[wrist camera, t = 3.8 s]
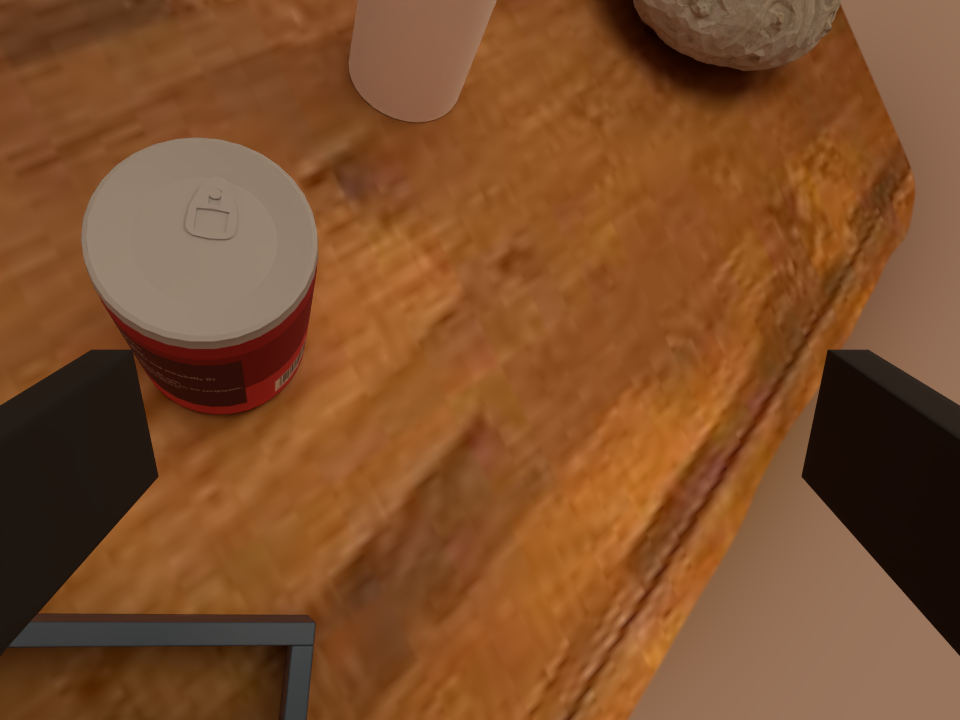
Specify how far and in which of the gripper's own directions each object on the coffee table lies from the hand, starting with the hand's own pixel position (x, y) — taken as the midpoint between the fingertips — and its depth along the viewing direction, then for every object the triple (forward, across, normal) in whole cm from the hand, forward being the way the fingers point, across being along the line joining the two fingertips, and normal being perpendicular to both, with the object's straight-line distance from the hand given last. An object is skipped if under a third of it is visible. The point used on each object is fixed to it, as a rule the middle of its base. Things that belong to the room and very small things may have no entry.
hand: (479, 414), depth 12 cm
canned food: (+19, -13, -5) cm, 24 cm away
